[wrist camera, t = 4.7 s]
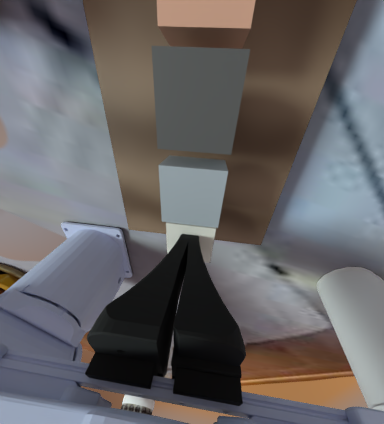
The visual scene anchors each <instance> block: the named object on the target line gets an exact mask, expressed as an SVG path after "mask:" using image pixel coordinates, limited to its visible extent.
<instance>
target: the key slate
mask: <svg viewBox="0 0 384 424" xmlns="http://www.w3.org/2000/svg"><path fill="white" fill-rule="evenodd" d="M227 175H228V169H227V165H226V162H225V160H218V159H206V158H194V157H182V156H170V155H169V156H168V157H167V158H166V159H165V160H164V161H163V162H161V163H160V164H159V182H160V199H161V217H162V222H170V223H179V224H188V225H197V226H205V227H214V228H218V225H219V220H220V214H221V208H222V203H223V197H224V192H225V186H226V181H227Z"/></svg>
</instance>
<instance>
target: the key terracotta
mask: <svg viewBox="0 0 384 424" xmlns="http://www.w3.org/2000/svg"><path fill="white" fill-rule="evenodd" d="M255 1H256V0H157V21H158V27H159V29H160V31H161V32H162V34H163V36H164V37H165V39H166V40H167V42H168V44H169V45H170V46H175V47H204V48H233V49H242V48H243V45H244V43H245V41H246V38H247V36H248V34H249V31H250V29H251V24H252V18H253V12H254V6H255Z"/></svg>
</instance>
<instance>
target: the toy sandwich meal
mask: <svg viewBox="0 0 384 424" xmlns="http://www.w3.org/2000/svg"><path fill="white" fill-rule="evenodd" d="M24 275H25V274H24V273H23V272H21V271H19V270H17V269H15V268H12V267H10V266H7V265H4V264H0V294H2V293H4V292H5V291H6V290H7V289H8V288H10V287H11V286H12V285H13V284H14V283H16V282H17V281H18V280H19V279H20V278H21V277H23V276H24Z"/></svg>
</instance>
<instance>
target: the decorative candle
mask: <svg viewBox="0 0 384 424" xmlns="http://www.w3.org/2000/svg"><path fill="white" fill-rule="evenodd" d="M154 404H155V401H154V400H151V399H146V398H141V397H136V396H131V395H125V396H124V399H123V403H122V407H121V410H127V411H132V412H138V413H143V414H148V415H152V411H153V409H154Z"/></svg>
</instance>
